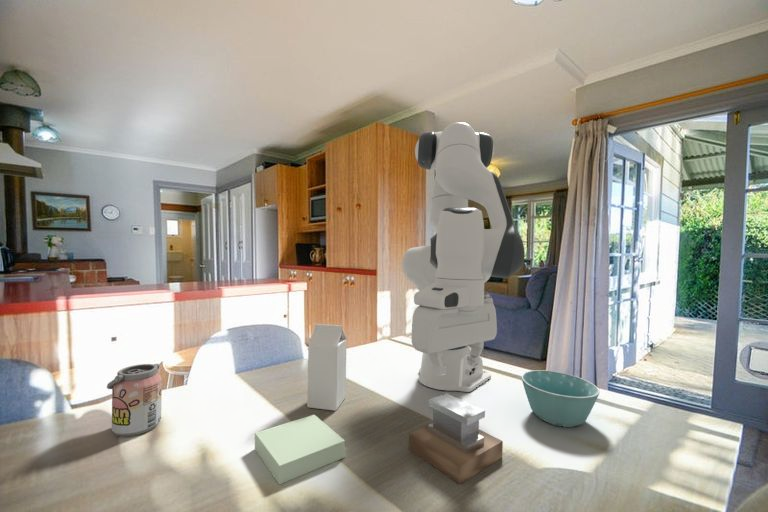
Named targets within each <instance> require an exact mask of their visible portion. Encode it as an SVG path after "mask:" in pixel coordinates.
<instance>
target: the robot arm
mask: <svg viewBox="0 0 768 512" xmlns="http://www.w3.org/2000/svg"><path fill="white" fill-rule="evenodd" d="M494 153H495V146H494V140H493V138H492V136H491V135H490V134H488V133H486V132H480V131H478V132H476V131H475V129H474V128H473V127H472V126H471V125H470V124H468V123H466V122H460V121H459V122H453V123H450V124H448V125H447V126H446V127H444V129H443V130H442V131H433V130H431V131H426V132H423V133H422V134H421V135H420V136H419V137H418V140H417V142H416V144H415V148H414V154H415V159H416V161H417V165H418V166H419V167H420V168H422V169H424V170H429V171H430V170H435V176H434V180H433V185H432V189H431V196H430V210H429V227H430V228H431V230H432V231H433V232H434V233H435V234H434V235H433V236H431V238H429V240H430V245H422V246H415V247H411V248H408V249H407V250H406V252H405V253H404V254H403V257H402V260H401V270H402V272H403V274H404V276H405V277H406V279H407V280H408V281H409V282H411V283H412V284H413V285H414V286H415V287H416V289H417V290H418V291H417V292H415V293H414V294H413V295H414V296H413V303H414V305H417V306H416V307H415V309H414V311H413V313H412V322H411V345H412V347H413V348H414V349H415V351H417V352H420V353H422V355H421V364H420V368H419V369H418V381H419V382H420V384H422V385H424V386H425V387H428V388H431V389H435V390H440V391H450V392H451V391H455V392H457V391H459V392H463V393H464V392H465V393H470V392H472V391H473V390H476V389H477V388H478V387H479V385H480V386H481V385H483V384H484V383H486V382H487V381H489V380H490V379H491V378H492V375H491V374H490V373H489V372H488V371H486V370H484V367H483V366H484V365H483V359H482V357H481V354H482V352H483V350H484V347H485V344H484V343H485V342H490V341H493V340H495V339H496V336H497V333H498V325H497V324H498V321H497V311H496V306H495V305H494V300H493V298H492V296H491V295H490V293H489V292H486V291H485V283H487V282H488V281H489V280H490V278H491V277H492V278H501V279H509V278H510V277H512V276H514V275H515V274H516V273H518V272H519V271H520V270H521V269H522V268H523V266H524V263H525V255H526V254H525V253H526V252H525V245H524V243H523V239H522V236H521V234H520V232H519V230H518V229H517V226H516V224H515V221H514V218H513V216H512V213H511V210H510V206H509V203H508V201H507V198H506V194H505V192H504V189H503V186H502V183H501V181H500V179H499V177H498V175H497V174H496V173H495V172H492V171H491V170H490V169H488V167H489V166H490V165H491V163H492V160H493V158H494ZM469 201H472V202H475V203H478V204H480V205H481V206H482V207H484V209H485V210H486V214H487V216H488V220H489V223H490V227H491V228H485V223H484V217H483V211H482V210H481V209H479V208H477V207H469ZM488 379H489V380H488ZM485 381H486V382H485ZM482 383H483V384H482ZM476 387H477V388H476Z"/></svg>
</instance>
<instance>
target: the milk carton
mask: <svg viewBox="0 0 768 512" xmlns="http://www.w3.org/2000/svg"><path fill="white" fill-rule="evenodd" d="M347 342H348V341H347V337H346V334H345V332H344V329H343V325H336V324H335V325H334V324H321V323H314V329H313V332H312V333H311V336H310V338H309V342H308V353H307V354H308V355H307V357H308V358H307V359H308V360H307V403H306V404H307V405H306V406H307V408H310V409H321V410H327V411H328V410H329V411H337V410H338V409H339V407H340V406H341V404H342V403H343V401H345V399H346V389H347V388H346V387H347V386H346V385H347V384H346V383H347V382H346V381H347V347H348V346H347Z"/></svg>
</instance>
